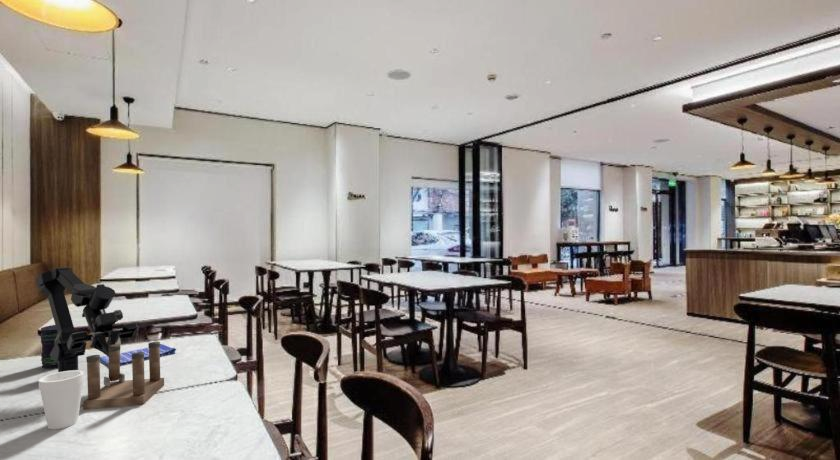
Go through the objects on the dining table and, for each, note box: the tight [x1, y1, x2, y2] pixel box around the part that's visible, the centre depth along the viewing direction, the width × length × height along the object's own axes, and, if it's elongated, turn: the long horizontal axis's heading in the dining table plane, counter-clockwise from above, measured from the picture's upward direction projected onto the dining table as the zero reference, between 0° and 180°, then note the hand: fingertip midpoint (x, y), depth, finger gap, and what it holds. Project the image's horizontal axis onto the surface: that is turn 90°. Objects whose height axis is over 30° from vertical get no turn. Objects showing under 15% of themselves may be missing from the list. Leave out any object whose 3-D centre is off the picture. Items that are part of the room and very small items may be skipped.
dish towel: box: [100, 343, 177, 367], centre depth 180 cm, size 17×24×3 cm
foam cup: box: [38, 369, 85, 430], centre depth 118 cm, size 10×9×13 cm
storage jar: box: [40, 324, 58, 370], centre depth 170 cm, size 10×10×15 cm
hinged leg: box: [108, 343, 121, 382], centre depth 141 cm, size 3×3×11 cm
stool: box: [82, 341, 165, 410], centre depth 137 cm, size 17×17×15 cm
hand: (112, 356), depth 142 cm, fingers closed, pressing on hinged leg
